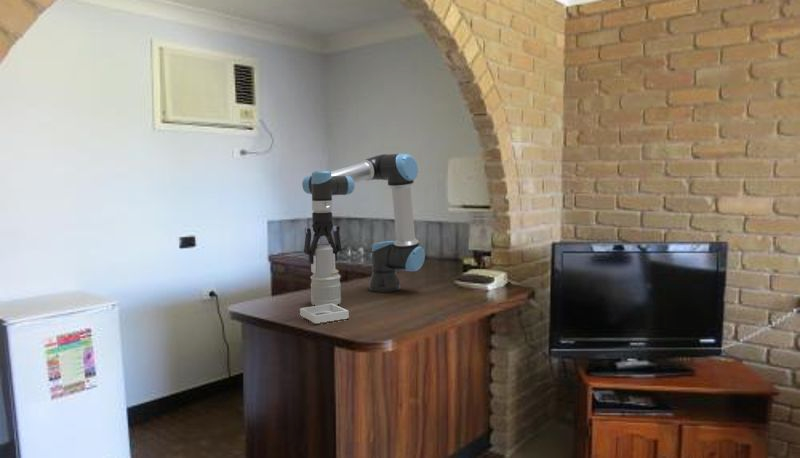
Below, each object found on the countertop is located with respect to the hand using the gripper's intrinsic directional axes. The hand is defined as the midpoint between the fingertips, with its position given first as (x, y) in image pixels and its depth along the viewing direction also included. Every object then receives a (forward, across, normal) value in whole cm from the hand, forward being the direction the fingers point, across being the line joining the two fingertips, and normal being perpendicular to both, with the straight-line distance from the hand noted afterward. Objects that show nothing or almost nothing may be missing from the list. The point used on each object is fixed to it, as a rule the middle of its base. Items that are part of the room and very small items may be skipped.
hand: (323, 270), depth 209 cm
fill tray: (+19, 0, 0) cm, 19 cm away
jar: (+19, +11, +21) cm, 30 cm away
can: (+2, 0, 0) cm, 2 cm away
